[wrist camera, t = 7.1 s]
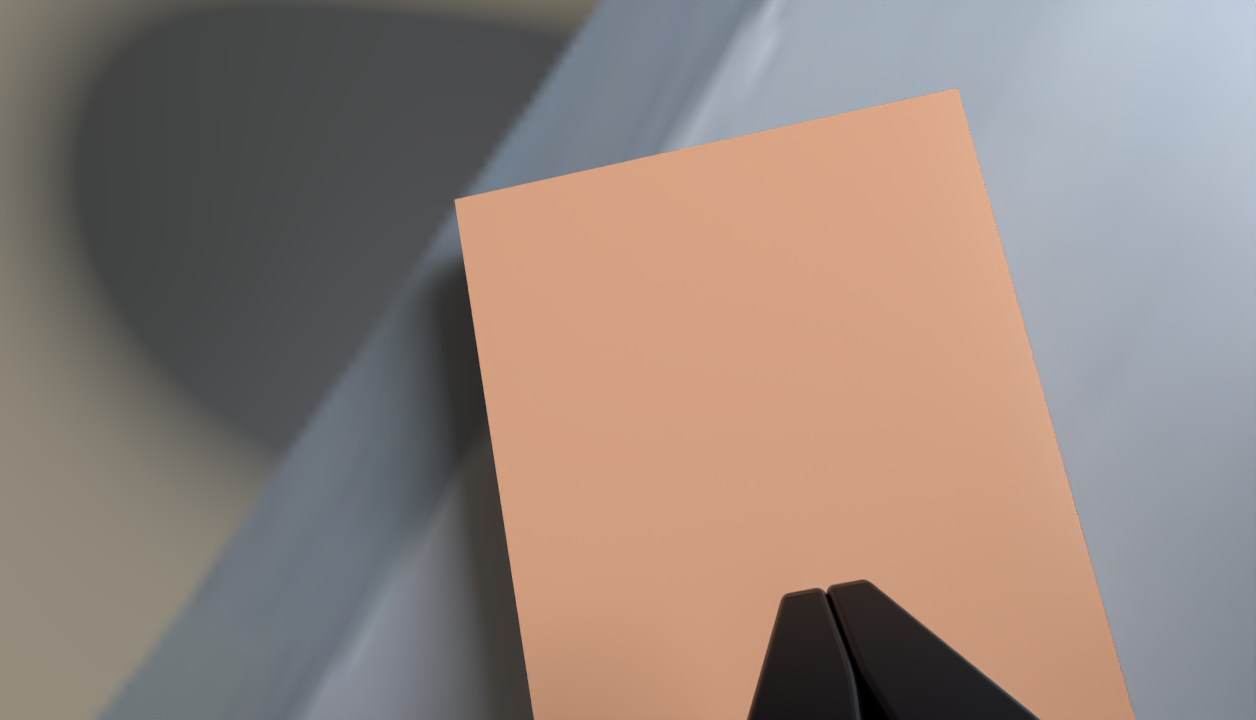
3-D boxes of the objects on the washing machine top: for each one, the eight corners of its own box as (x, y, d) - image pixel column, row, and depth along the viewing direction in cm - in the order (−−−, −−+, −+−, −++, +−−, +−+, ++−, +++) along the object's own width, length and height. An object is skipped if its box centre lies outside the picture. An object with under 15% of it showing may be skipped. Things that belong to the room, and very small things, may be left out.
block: (1151, 776, 12) (958, 87, 15) (556, 872, 13) (454, 199, 15) (1082, 738, 15) (926, 156, 17) (587, 820, 16) (495, 249, 18)
